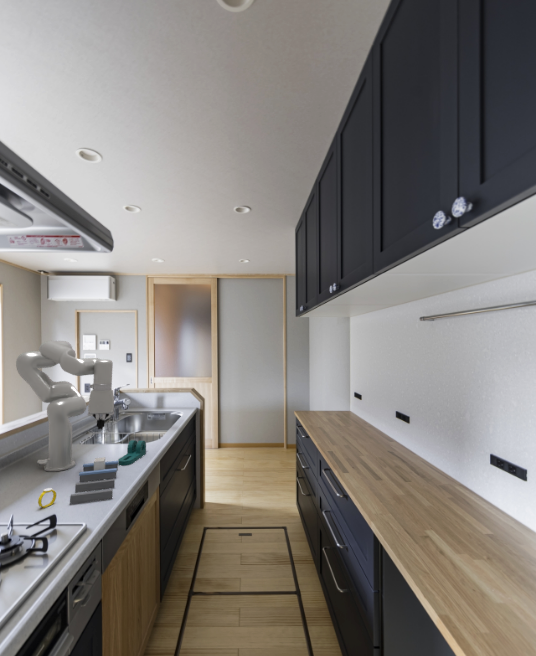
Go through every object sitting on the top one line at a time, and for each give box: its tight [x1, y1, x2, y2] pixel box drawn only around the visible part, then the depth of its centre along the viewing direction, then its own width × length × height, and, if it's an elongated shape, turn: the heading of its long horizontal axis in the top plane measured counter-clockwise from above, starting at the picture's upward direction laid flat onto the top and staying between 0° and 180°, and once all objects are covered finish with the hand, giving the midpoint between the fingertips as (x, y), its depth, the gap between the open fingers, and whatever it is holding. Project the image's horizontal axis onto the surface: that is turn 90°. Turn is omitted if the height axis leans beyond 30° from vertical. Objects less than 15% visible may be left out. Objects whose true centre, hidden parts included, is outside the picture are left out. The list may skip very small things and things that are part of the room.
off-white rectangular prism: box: [93, 456, 106, 471], centre depth 158 cm, size 4×5×7 cm
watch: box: [37, 487, 57, 509], centre depth 129 cm, size 6×3×6 cm, turn 157°
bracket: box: [117, 439, 147, 467], centre depth 179 cm, size 18×7×8 cm, turn 174°
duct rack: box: [69, 460, 119, 505], centre depth 148 cm, size 14×33×4 cm, turn 19°
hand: (100, 428), depth 161 cm, fingers closed
